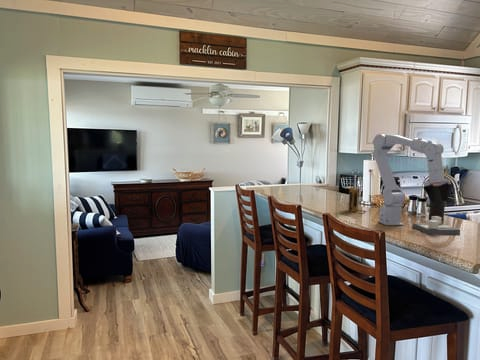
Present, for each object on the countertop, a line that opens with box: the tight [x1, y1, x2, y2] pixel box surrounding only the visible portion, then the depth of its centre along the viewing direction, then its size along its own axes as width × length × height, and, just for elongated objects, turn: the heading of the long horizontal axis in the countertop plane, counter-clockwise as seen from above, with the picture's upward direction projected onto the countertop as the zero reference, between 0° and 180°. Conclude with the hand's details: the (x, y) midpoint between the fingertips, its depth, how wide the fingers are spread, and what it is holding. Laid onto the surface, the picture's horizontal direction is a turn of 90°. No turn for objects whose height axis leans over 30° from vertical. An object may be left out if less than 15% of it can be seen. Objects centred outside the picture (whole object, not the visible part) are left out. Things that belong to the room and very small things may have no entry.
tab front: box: [427, 219, 439, 229], centre depth 161 cm, size 3×3×3 cm
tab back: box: [431, 216, 442, 224], centre depth 170 cm, size 3×3×3 cm
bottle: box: [428, 182, 446, 223], centre depth 186 cm, size 7×7×20 cm
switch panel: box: [412, 222, 461, 235], centre depth 166 cm, size 14×13×2 cm
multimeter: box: [347, 175, 369, 215], centre depth 208 cm, size 15×10×20 cm
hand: (439, 201), depth 158 cm, fingers open, 7 cm apart
